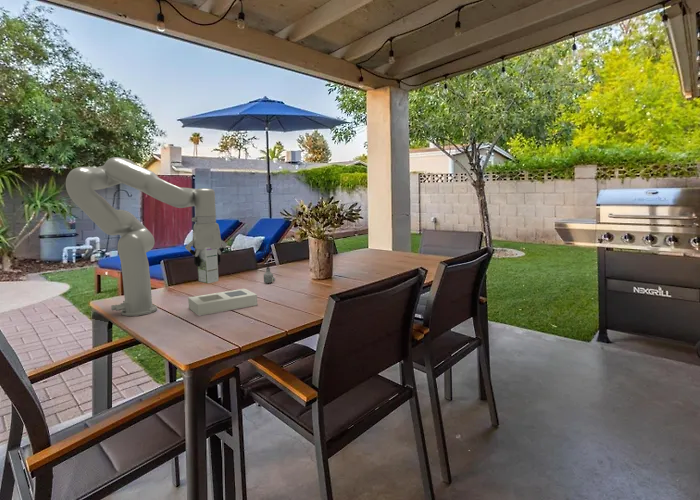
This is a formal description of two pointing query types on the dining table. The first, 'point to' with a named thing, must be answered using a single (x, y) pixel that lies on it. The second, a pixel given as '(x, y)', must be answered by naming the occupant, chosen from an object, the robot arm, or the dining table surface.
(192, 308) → the caddy
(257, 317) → the dining table surface
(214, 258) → the syrup box
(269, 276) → the reed diffuser
